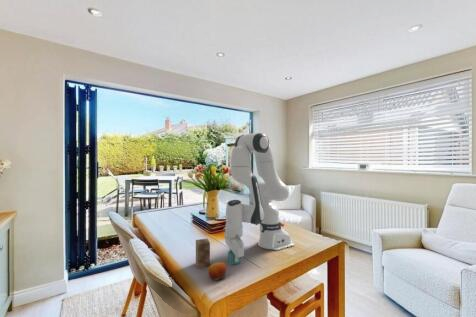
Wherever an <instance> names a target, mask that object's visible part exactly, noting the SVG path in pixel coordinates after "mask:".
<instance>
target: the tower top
mask: <svg viewBox="0 0 476 317" xmlns="http://www.w3.org/2000/svg"><path fill="white" fill-rule="evenodd" d="M196 253H197V256H205V255H210V256H211V242H210V241H209V239H208V238H201V239H195V254H196Z"/></svg>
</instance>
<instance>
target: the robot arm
mask: <svg viewBox="0 0 476 317" xmlns="http://www.w3.org/2000/svg"><path fill="white" fill-rule="evenodd" d="M231 150H232V151H231V156H230V173H231V174H230V175H231V177H232V178H233V179H234V181H236V183H237V182H238V183H239V184H241V185H243V186H246V188H248V190H249V191H250V195H251V196H250V197H251V203H252V204H245V203H242V201H241V200H239V199H232V200H228V202H227V203H226V207H225V227H223V232H224V241H225V245H227V247H228V249H229V250H228V251H232V252H233V253H234V254H235V258H234V261H235V262H238V258H239V257H240V258H243V257H244V255H245V246H244V245H245V244H244V241H243V240H242V237H243V230H244V229H243V225H244V224H245V223H247V224H251V225H256V226H258V225H259V239H258V242H257V245H258V247H260V248H261V249H262V248H263V249H266V250H272V251H280V250H284V249H288V248H291V246H292V247H294V246H295V242H294V241H292V239H291V235H290V233H289V232H287V231H286V230H285V229H283V228H284V227H285V223H283V222H280V221H279V217H280V216H279V214H280V212H279V209H278V207H277V206H276V205H275V203H274V202H285V201H286V200H287V198H289V196H290V191H289V190H290V189H289V187H288V186H287V185H286V184H285V183H284V182H283V181H282V179H281V178H280V177H279V175H278V172H277V168H276V163H275V158H274V153H273V150H272V147H271V145H270V140H269V138H268V136H267V135H266V134H265V133H261V132H257V133H255V132H254V133H253V132H252V133H248V134H247V133H246V134H241V135H239V136H237V137H236V139H235V141H234V147H233V148H232V149H231ZM253 154H254V160H255V165H256V172H257V175H258V176H259V177H260V178H261V179H262V180H260V181H258V178H257V176H256V175H254V173H253V172H252V162H251V157H252V155H253ZM243 223H244V224H243ZM282 227H283V228H282ZM287 247H288V248H287Z"/></svg>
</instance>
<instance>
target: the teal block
mask: <svg viewBox="0 0 476 317" xmlns="http://www.w3.org/2000/svg"><path fill="white" fill-rule="evenodd" d="M234 258H235V254H234V253H233V252H232V251H230V250H228V251H227V260H228V262H229V263H228V264H230V265H237V264H241V257H239V258H238V262H235V261H234Z"/></svg>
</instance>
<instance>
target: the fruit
mask: <svg viewBox="0 0 476 317" xmlns="http://www.w3.org/2000/svg"><path fill="white" fill-rule="evenodd" d="M226 272H227V265H226V264H225V262H224V261H223V262H222V261H217V262H213V263H212V264H210V267H208V275H209V277H210V279H211V280H214V281H216V282H218V280H220V279H224V280H225V275H226Z"/></svg>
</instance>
